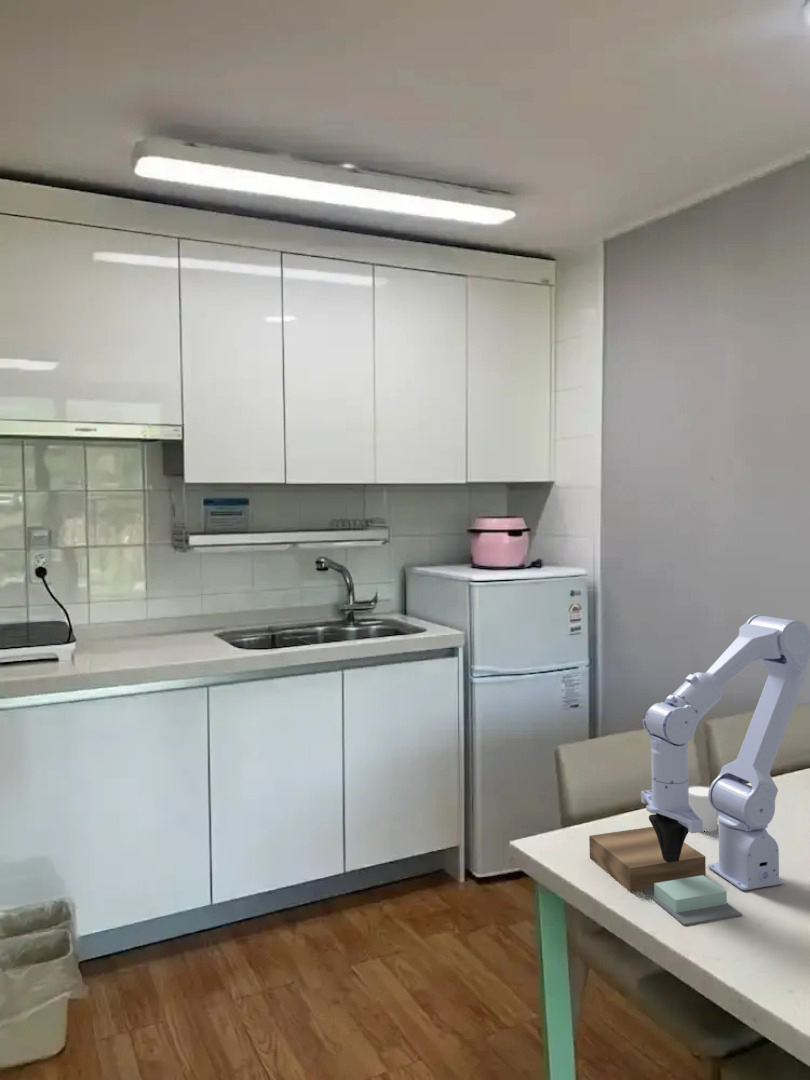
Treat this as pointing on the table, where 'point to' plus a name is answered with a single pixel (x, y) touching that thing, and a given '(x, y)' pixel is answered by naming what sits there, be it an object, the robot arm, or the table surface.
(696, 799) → the white short cylinder
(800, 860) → the table surface
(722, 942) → the table surface
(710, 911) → the mat
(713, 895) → the mint green flat block
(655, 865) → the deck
